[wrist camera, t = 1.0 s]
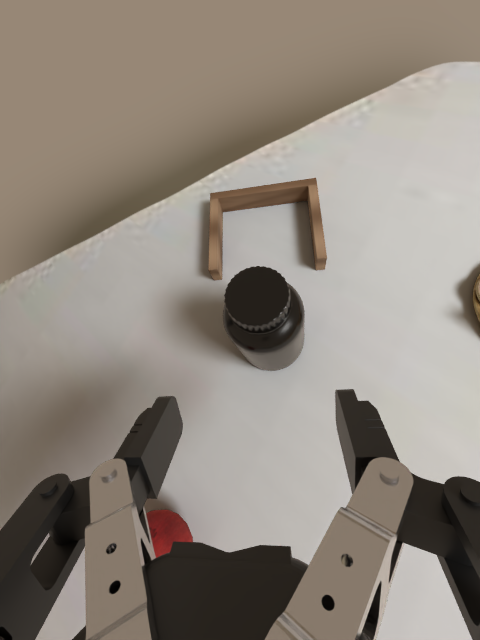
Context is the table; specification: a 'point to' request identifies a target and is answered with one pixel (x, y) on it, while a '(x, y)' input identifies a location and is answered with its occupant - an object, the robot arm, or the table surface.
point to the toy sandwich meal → (477, 297)
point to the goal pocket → (261, 198)
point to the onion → (167, 530)
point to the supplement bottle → (264, 318)
